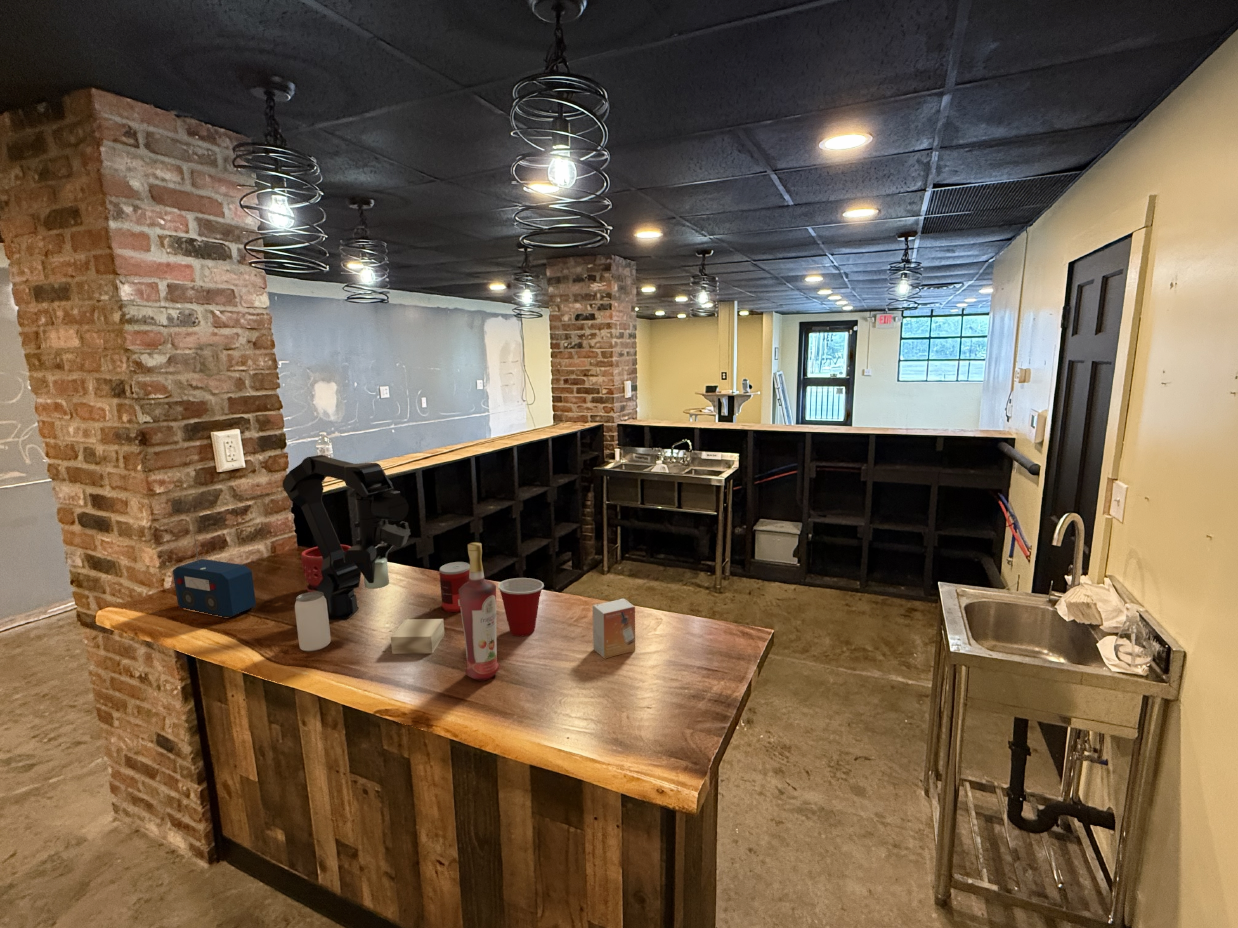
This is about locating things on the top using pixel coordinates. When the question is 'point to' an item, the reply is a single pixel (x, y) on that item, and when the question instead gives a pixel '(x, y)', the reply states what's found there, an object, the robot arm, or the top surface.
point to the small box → (614, 628)
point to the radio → (214, 587)
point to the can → (312, 621)
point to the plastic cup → (521, 604)
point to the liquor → (479, 619)
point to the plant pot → (314, 566)
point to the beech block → (417, 636)
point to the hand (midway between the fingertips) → (376, 578)
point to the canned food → (453, 584)
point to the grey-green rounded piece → (379, 575)
